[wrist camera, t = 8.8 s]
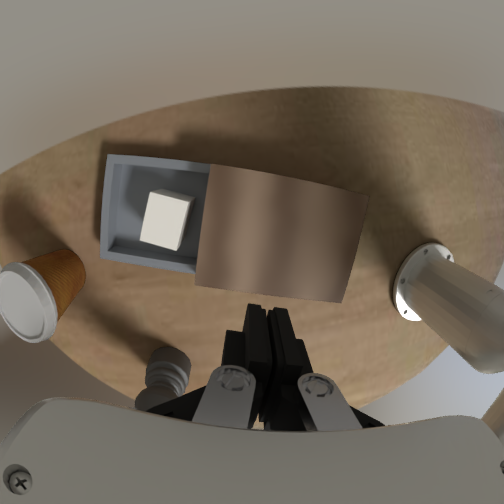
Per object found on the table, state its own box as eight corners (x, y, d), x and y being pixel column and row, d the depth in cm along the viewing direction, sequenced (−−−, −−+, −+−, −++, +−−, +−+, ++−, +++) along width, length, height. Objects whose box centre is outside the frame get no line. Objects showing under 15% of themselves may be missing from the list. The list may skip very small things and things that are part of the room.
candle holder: (148, 344, 36) (93, 498, 12) (190, 348, 37) (163, 515, 13) (153, 376, 38) (115, 518, 14) (192, 379, 38) (175, 530, 14)
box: (215, 165, 30) (213, 164, 27) (200, 265, 33) (197, 274, 30) (117, 155, 29) (107, 154, 26) (109, 250, 32) (100, 258, 29)
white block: (188, 202, 26) (150, 191, 25) (176, 250, 27) (139, 240, 26) (195, 197, 30) (162, 188, 30) (184, 238, 32) (152, 229, 31)
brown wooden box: (347, 191, 32) (369, 195, 26) (325, 282, 35) (341, 303, 29) (215, 165, 30) (211, 163, 24) (200, 265, 33) (194, 285, 28)
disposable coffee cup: (66, 223, 30) (9, 248, 19) (108, 279, 33) (64, 324, 21) (34, 263, 31) (-16, 295, 20) (72, 312, 34) (31, 357, 22)
